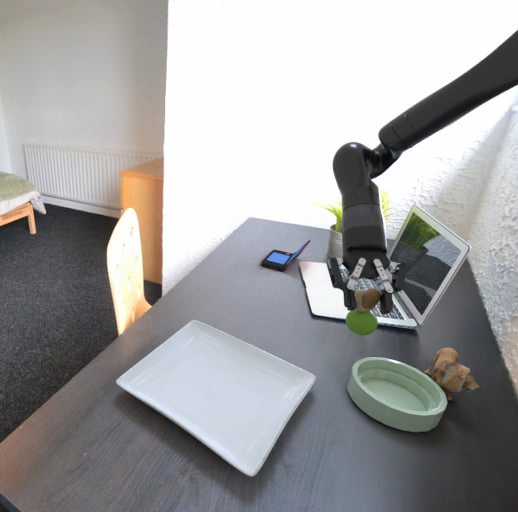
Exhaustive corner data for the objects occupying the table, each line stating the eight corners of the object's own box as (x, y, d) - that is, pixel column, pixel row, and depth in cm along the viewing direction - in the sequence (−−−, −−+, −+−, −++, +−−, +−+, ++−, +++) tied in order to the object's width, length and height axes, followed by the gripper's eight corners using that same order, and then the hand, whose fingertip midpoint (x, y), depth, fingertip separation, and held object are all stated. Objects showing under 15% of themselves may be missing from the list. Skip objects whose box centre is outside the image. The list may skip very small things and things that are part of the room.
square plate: (250, 495, 53) (254, 477, 51) (113, 395, 70) (112, 379, 68) (314, 388, 70) (319, 373, 68) (192, 329, 87) (193, 316, 85)
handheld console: (272, 251, 124) (276, 231, 121) (306, 260, 118) (311, 239, 115) (259, 265, 116) (262, 244, 112) (295, 275, 109) (300, 252, 106)
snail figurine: (332, 328, 77) (346, 278, 72) (356, 322, 79) (372, 273, 73) (355, 344, 72) (371, 292, 67) (380, 337, 74) (398, 286, 69)
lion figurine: (465, 419, 63) (487, 380, 59) (426, 407, 65) (445, 369, 61) (447, 366, 74) (464, 330, 70) (414, 357, 77) (429, 322, 73)
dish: (414, 380, 71) (422, 362, 69) (455, 441, 59) (466, 421, 57) (337, 370, 74) (342, 352, 72) (361, 426, 62) (368, 407, 60)
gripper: (331, 221, 74) (335, 303, 69) (413, 225, 71) (423, 312, 66) (319, 235, 81) (321, 311, 76) (392, 240, 78) (400, 319, 73)
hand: (368, 311), depth 71 cm, fingers closed on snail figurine, 5 cm apart
